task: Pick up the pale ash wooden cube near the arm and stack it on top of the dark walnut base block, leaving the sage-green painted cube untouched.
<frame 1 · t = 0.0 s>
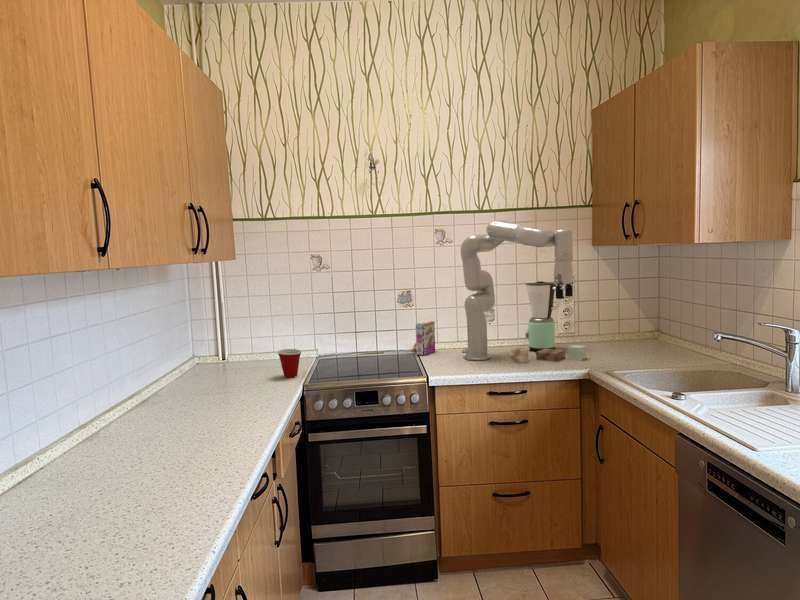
hand: (564, 297, 259), 31 cm above the counter, fingers open, 9 cm apart
mint green blender: (543, 350, 303), on the counter
plastic cup: (291, 376, 270), on the counter
sage painted block: (577, 359, 279), on the counter
ash block: (519, 361, 280), on the counter
candy bar box: (426, 353, 308), on the counter
walnut base block: (550, 359, 283), on the counter
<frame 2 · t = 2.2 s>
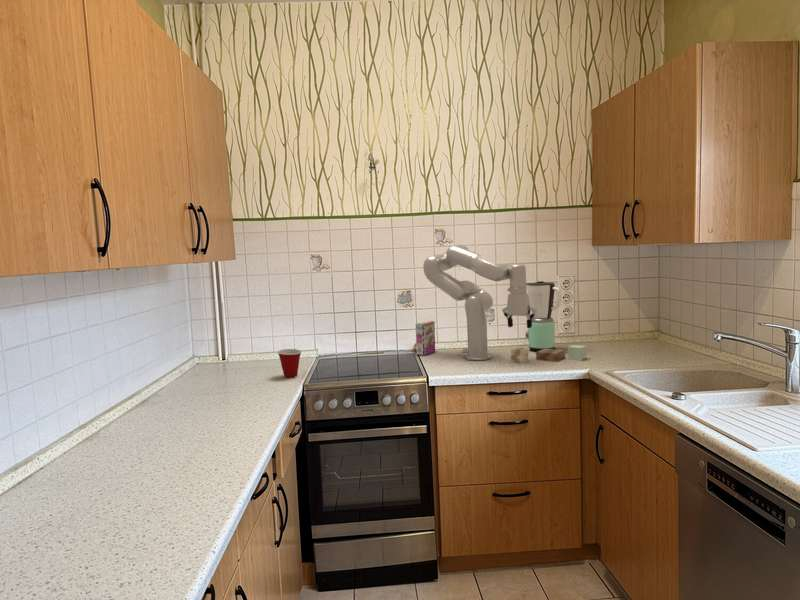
hand: (519, 327, 278), 16 cm above the counter, fingers open, 9 cm apart
nothing on the counter moved.
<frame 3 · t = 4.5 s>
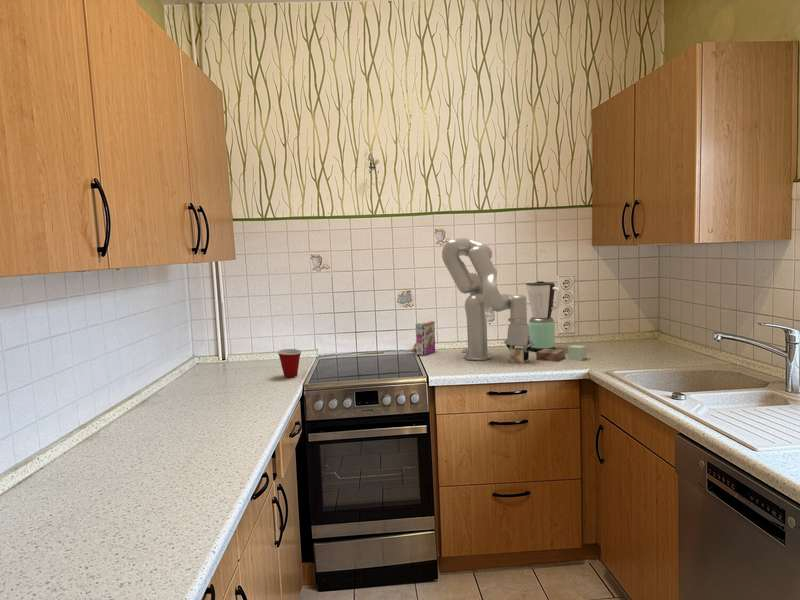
hand: (519, 359, 279), 1 cm above the counter, fingers closed on ash block, 6 cm apart
ash block: (519, 361, 280), on the counter, touching gripper
everything else where it was.
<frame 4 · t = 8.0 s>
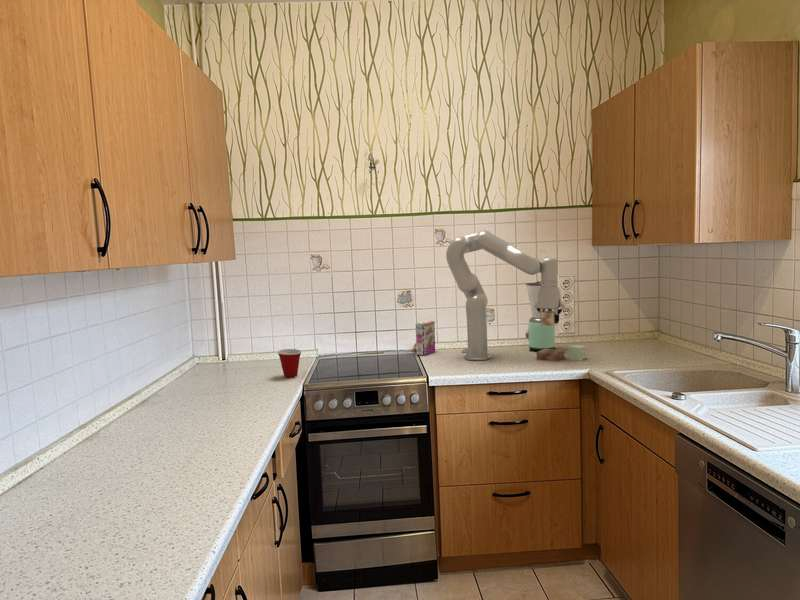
hand: (549, 322, 281), 17 cm above the counter, fingers closed on ash block, 6 cm apart
ash block: (549, 324, 281), point 16 cm above the counter, touching gripper
everything else where it was.
when the fingers open (6 cm above the counter, at t = 11.4 s): ash block drops 1 cm, resting on walnut base block.
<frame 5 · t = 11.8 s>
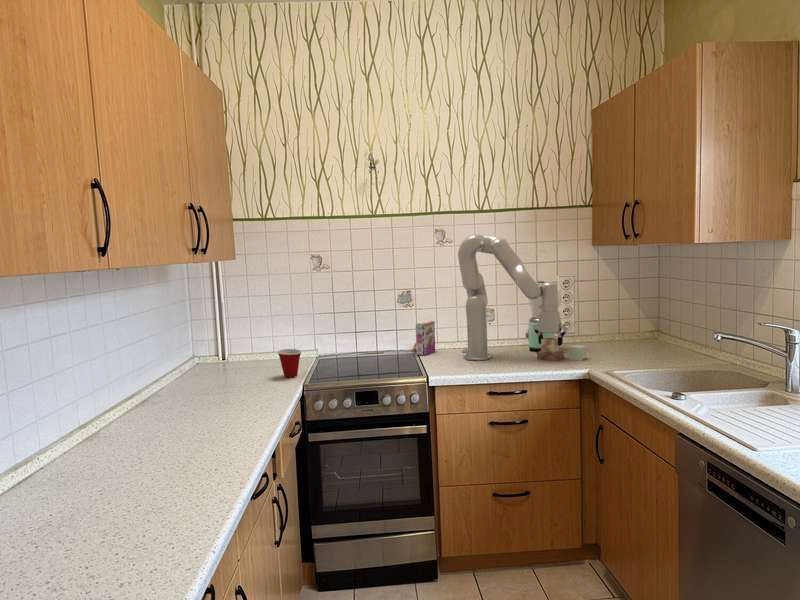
hand: (550, 344, 282), 7 cm above the counter, fingers open, 9 cm apart
ash block: (550, 351, 282), point 4 cm above the counter, touching walnut base block
walnut base block: (550, 359, 283), on the counter, touching ash block
everything else where it was.
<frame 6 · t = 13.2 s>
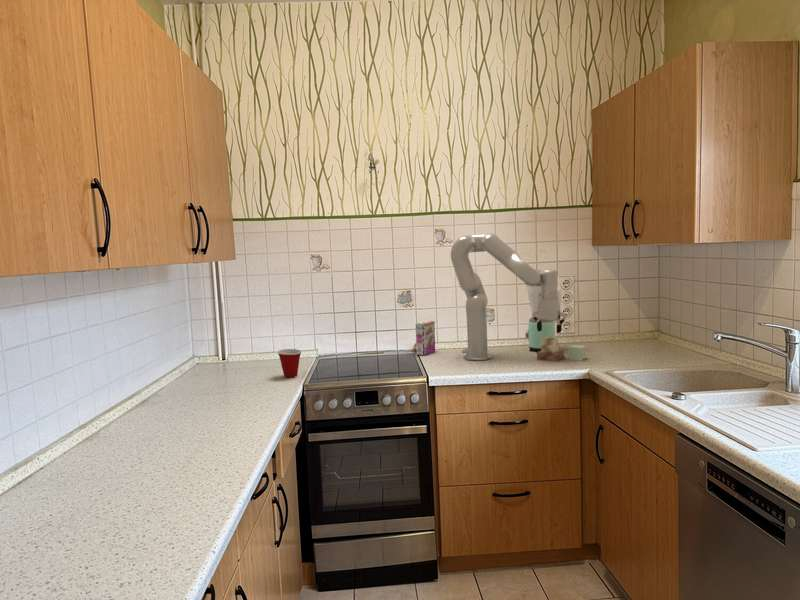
hand: (549, 331, 281), 13 cm above the counter, fingers open, 9 cm apart
ash block: (550, 351, 282), point 4 cm above the counter
walnut base block: (550, 359, 282), on the counter
everything else where it was.
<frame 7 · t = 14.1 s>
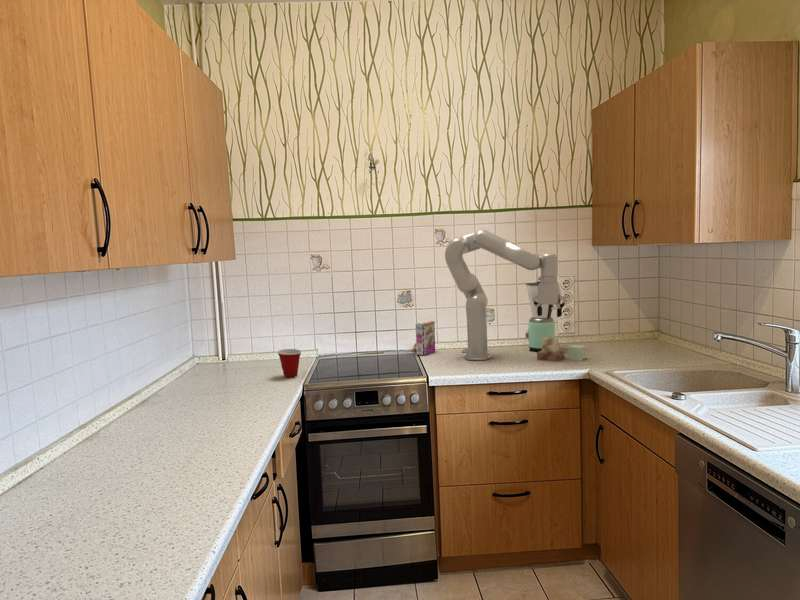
hand: (549, 316, 280), 20 cm above the counter, fingers open, 9 cm apart
ash block: (550, 351, 282), point 4 cm above the counter, touching walnut base block
walnut base block: (551, 359, 282), on the counter, touching ash block
everything else where it was.
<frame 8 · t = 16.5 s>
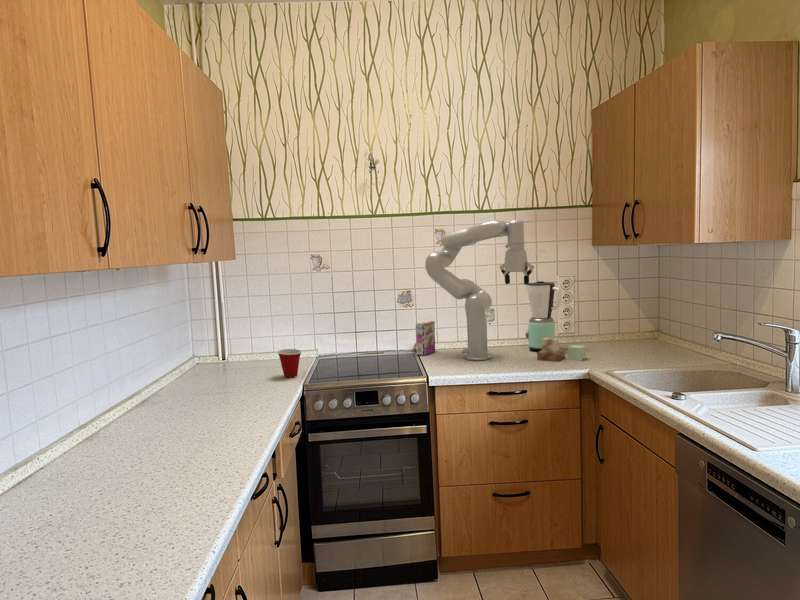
hand: (516, 284, 277), 36 cm above the counter, fingers open, 9 cm apart
ash block: (550, 351, 282), point 4 cm above the counter
walnut base block: (551, 359, 282), on the counter
everything else where it was.
at the end: ash block 0.1 cm off-centre on the walnut base block, point 4.0 cm above the walnut base block's base; ash block tilted 0°; the gripper is holding nothing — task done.
